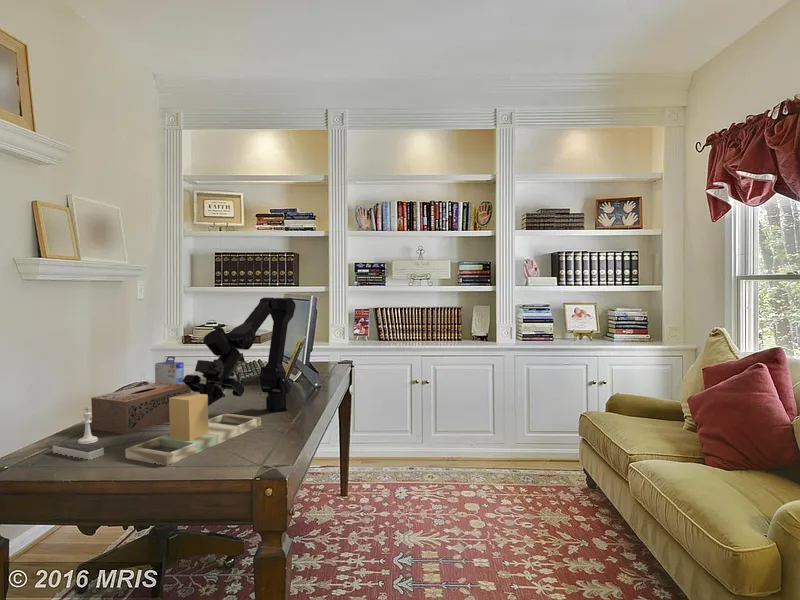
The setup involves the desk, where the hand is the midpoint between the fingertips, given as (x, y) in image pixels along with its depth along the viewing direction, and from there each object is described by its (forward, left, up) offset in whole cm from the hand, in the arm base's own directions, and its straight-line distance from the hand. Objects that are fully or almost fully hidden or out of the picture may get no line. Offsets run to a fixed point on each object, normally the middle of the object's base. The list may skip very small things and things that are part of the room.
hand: (199, 410), depth 147 cm
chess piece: (+29, -12, -9) cm, 33 cm away
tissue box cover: (+16, -30, -9) cm, 35 cm away
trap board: (0, 0, -9) cm, 9 cm away
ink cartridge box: (+9, -71, -9) cm, 72 cm away
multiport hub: (+30, -1, -9) cm, 31 cm away
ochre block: (+3, +3, -6) cm, 7 cm away
